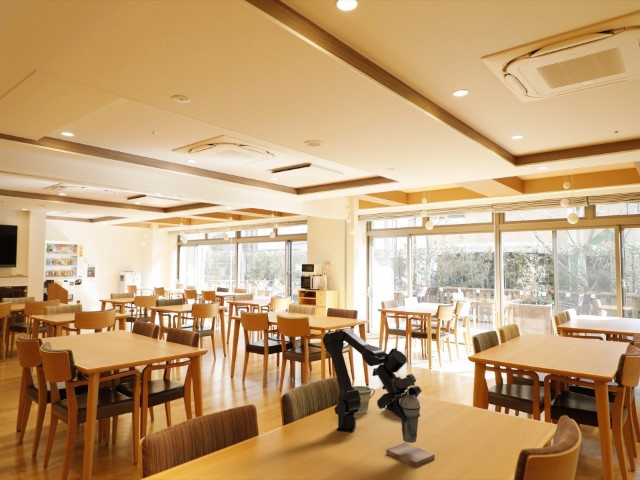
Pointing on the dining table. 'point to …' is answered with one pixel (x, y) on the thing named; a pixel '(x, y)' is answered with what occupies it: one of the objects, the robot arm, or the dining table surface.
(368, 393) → the ceramic cup
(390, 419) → the dining table surface
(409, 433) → the beverage cup
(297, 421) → the dining table surface
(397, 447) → the walnut board
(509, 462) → the dining table surface
